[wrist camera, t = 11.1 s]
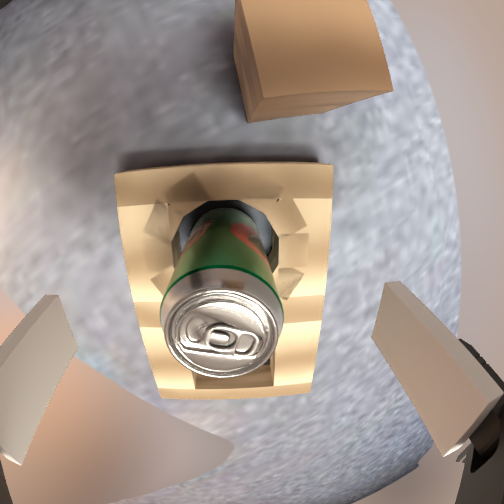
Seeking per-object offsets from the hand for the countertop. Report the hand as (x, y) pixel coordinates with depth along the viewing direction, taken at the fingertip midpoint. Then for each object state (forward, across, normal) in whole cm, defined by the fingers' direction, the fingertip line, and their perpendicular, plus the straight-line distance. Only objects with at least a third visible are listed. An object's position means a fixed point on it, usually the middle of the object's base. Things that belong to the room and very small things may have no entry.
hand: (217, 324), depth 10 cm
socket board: (+12, 0, -5) cm, 13 cm away
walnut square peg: (+12, +4, +11) cm, 17 cm away
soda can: (+12, 0, -1) cm, 12 cm away
